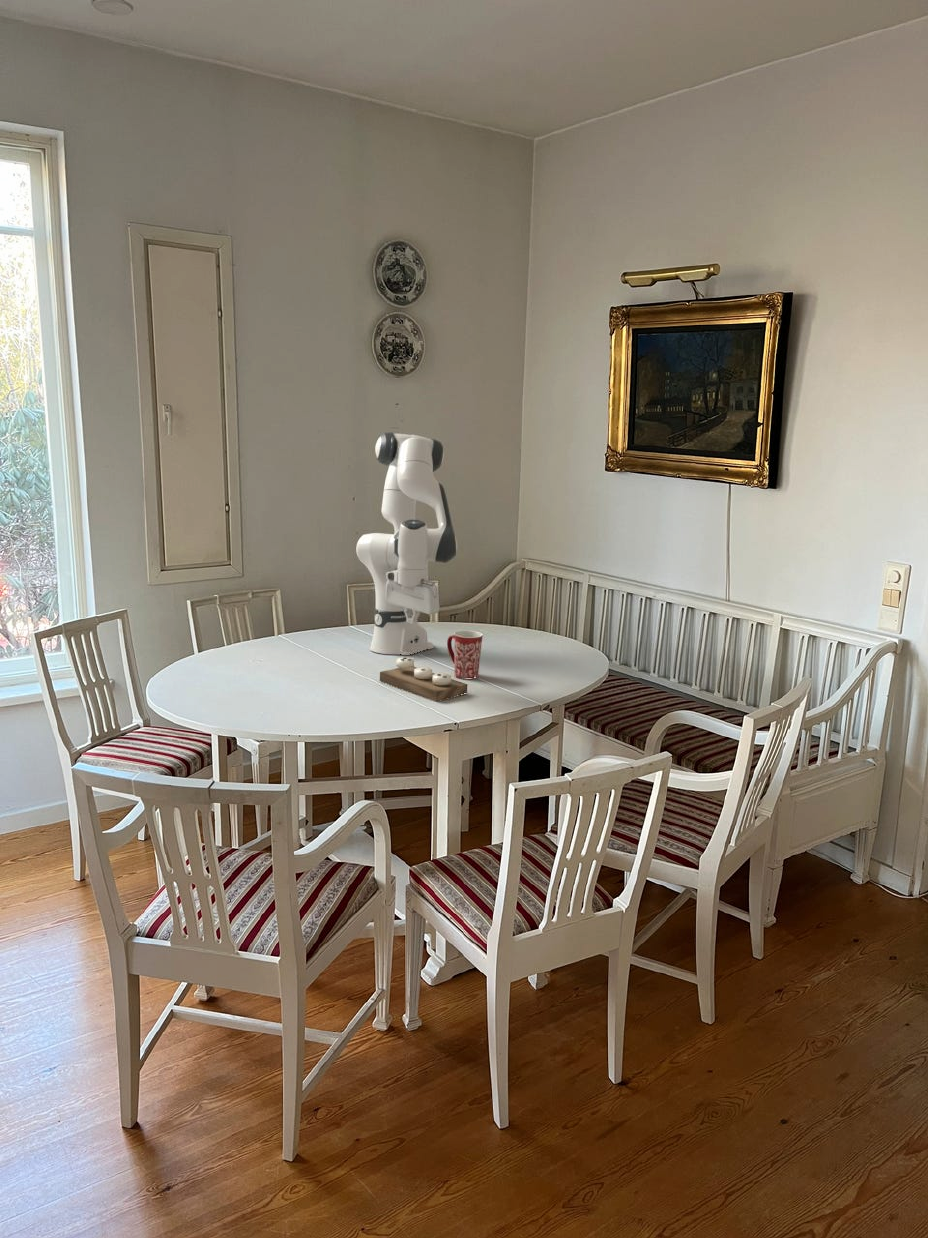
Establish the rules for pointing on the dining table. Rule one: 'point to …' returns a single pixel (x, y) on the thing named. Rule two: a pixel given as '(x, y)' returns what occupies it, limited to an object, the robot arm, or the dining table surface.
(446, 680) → the button two
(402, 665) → the button three
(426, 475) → the robot arm
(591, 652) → the dining table surface
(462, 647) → the mug
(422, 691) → the button board
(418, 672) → the button one
